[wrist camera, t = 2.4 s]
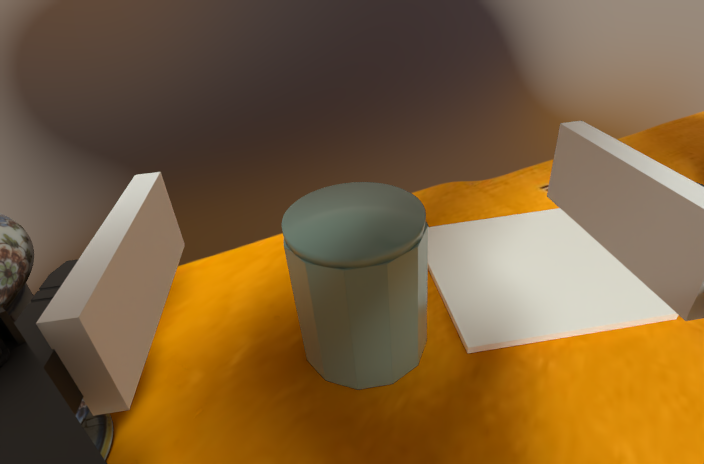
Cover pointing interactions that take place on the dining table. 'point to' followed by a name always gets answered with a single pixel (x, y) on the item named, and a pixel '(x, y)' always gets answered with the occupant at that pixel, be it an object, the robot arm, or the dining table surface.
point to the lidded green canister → (359, 281)
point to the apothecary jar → (14, 295)
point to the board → (534, 281)
